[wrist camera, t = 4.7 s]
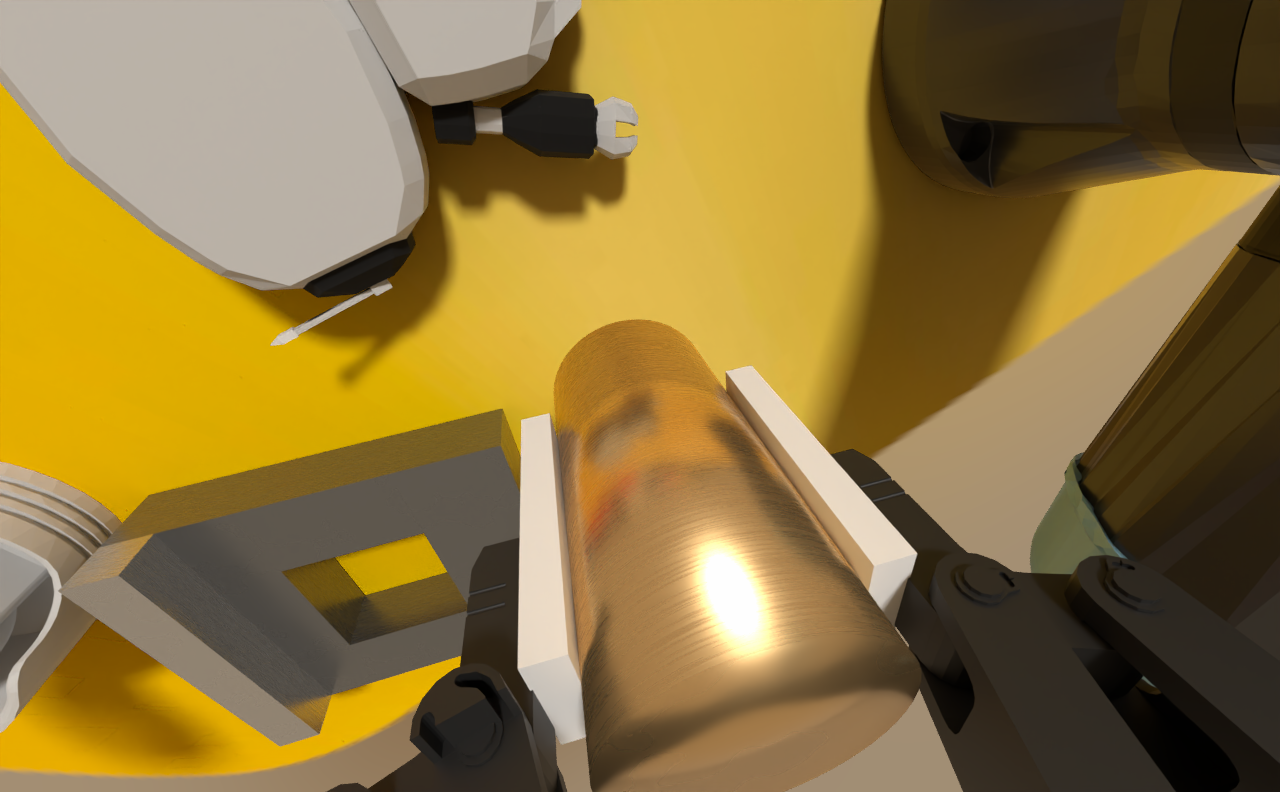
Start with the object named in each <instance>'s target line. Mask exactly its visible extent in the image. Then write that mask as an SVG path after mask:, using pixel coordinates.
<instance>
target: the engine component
mask: <svg viewBox="0 0 1280 792" xmlns="http://www.w3.org/2000/svg"><path fill="white" fill-rule="evenodd" d="M121 524H122V523H121V522H120V521H119V519H118V518H117V517H116V516H115V515H114V514H113V513H111V512H110V511H109V510H108V509H107V508H105V507H104V506H103V505H102V504H100V503H99V502H97V501H96V500H94V499H93V498H91V497H90V496H88V495H87V494H85V493H83V492H81V491H79V490H77V489H75V488H73V487H71V486H69V485H67V484H65V483H63V482H61V481H59V480H57V479H54V478H51V477H49V476H46V475H43V474H41V473H38V472H35V471H32V470H29V469H25V468H22V467H19V466H15V465H12V464H8V463H3V462H0V733H1V732H2V731H4V730H5V729H6V728H7V726H8V725H9V724H10V723H11V722H12V721H13V720H14V719H15V718H16V716H17V715H18V714H19V713H20V712H21V710H22V709H23V708H24V707H25V706H26V704H27V703H28V702H29V701H30V699H31V698H32V697H33V696H34V695H35V693H36V692H37V691H38V690H39V688H40V687H41V686H42V685H43V684H44V682H45V681H46V680H47V679H48V678H49V676H50V675H51V674H52V673H53V671H54V670H55V669H56V668H57V667H58V665H59V664H60V663H61V662H62V661H63V659H64V658H65V657H66V656H67V654H68V653H69V652H70V651H71V650H72V648H73V647H74V646H75V645H76V643H77V642H78V641H79V640H80V639H81V637H82V636H83V635H84V634H85V633H86V631H87V630H88V629H89V628H90V626H91V625H92V624H93V623H94V622H95V620H96V619H97V618H95V617H94V616H92V615H91V614H90V613H88V612H87V611H85V610H84V609H82V608H81V607H80V606H78V605H77V604H75V603H74V602H72V601H71V600H70V599H68V598H67V597H65V596H64V595H62V594H61V593H59V592H58V591H59V589H60V588H61V587H62V586H63V585H64V584H65V583H66V582H67V581H68V580H69V579H70V578H71V577H72V576H73V575H74V574H75V573H76V572H77V571H78V569H79V568H80V567H81V566H82V565H83V564H84V563H85V562H86V561H87V560H88V559H89V558H90V557H91V556H92V555H93V554H94V553H95V552H96V551H97V549H98V548H99V547H100V546H101V545H102V544H103V543H104V542H105V541H106V540H107V539H108V538H109V537H110V536H111V535H112V534H113V533H114V532H115V530H116V529H117V528H118V527H119V526H120V525H121Z"/></svg>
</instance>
